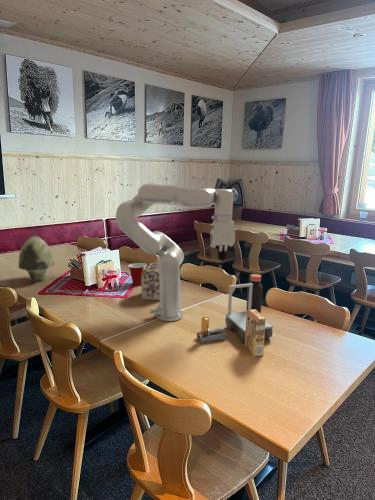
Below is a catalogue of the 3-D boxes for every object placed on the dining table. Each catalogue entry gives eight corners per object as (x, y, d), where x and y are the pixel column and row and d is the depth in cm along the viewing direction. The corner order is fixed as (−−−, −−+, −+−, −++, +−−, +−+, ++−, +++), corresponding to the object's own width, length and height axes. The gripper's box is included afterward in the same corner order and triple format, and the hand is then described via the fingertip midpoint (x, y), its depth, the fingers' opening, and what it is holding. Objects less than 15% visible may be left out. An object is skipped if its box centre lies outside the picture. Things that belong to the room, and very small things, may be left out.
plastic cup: (139, 279, 224) (139, 260, 221) (150, 284, 216) (150, 264, 213) (124, 283, 216) (124, 264, 213) (135, 288, 209) (135, 268, 206)
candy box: (263, 355, 139) (266, 318, 136) (253, 357, 138) (256, 319, 135) (253, 344, 148) (256, 308, 144) (243, 345, 147) (246, 309, 143)
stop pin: (201, 339, 148) (202, 320, 146) (198, 336, 151) (199, 317, 149) (225, 336, 152) (225, 317, 150) (221, 332, 155) (222, 314, 153)
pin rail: (201, 343, 148) (201, 337, 147) (196, 338, 152) (196, 332, 152) (226, 339, 151) (226, 333, 151) (220, 334, 156) (221, 328, 155)
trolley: (244, 344, 147) (247, 300, 143) (224, 326, 164) (226, 285, 159) (272, 340, 152) (275, 296, 147) (250, 322, 168) (252, 282, 163)
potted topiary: (32, 277, 230) (26, 230, 226) (61, 277, 227) (56, 228, 223) (13, 285, 211) (7, 233, 207) (45, 284, 208) (39, 231, 204)
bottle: (263, 315, 175) (266, 275, 171) (255, 319, 170) (258, 278, 166) (251, 311, 180) (253, 272, 175) (243, 315, 175) (245, 275, 170)
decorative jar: (166, 293, 203) (167, 261, 198) (163, 300, 191) (163, 267, 187) (145, 291, 204) (145, 260, 199) (140, 299, 193) (140, 266, 188)
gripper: (210, 220, 152) (209, 263, 156) (242, 218, 157) (240, 260, 161) (203, 217, 158) (202, 258, 163) (234, 216, 164) (232, 256, 168)
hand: (221, 259), depth 162 cm, fingers closed
